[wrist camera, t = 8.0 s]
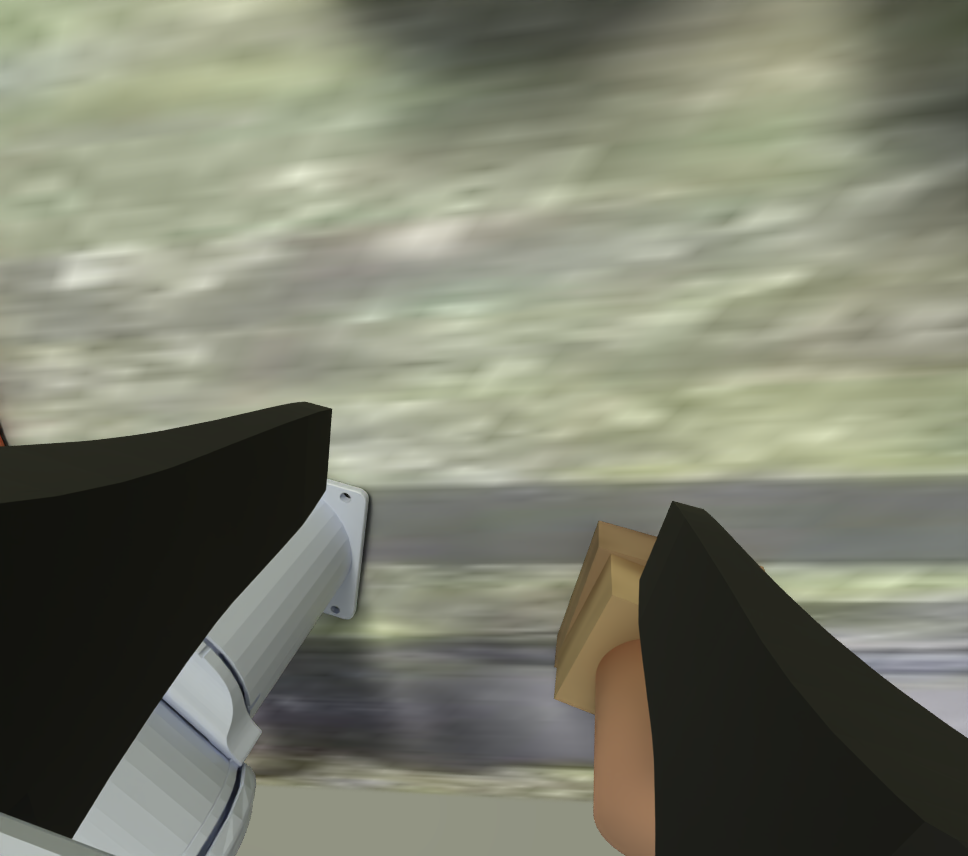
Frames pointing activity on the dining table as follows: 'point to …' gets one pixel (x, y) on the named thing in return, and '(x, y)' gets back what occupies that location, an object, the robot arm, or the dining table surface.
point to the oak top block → (598, 631)
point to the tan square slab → (602, 545)
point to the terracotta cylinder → (624, 753)
